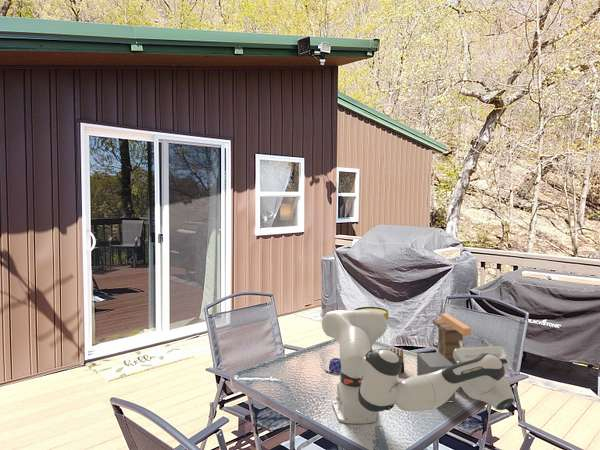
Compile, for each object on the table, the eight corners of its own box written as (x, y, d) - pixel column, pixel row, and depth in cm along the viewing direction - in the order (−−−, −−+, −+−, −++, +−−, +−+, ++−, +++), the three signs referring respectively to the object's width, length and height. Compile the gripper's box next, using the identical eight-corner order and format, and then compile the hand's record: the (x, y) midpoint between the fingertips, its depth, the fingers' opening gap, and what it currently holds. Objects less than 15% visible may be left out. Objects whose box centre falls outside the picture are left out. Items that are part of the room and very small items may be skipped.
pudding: (329, 364, 231) (329, 354, 231) (352, 367, 226) (352, 357, 226) (320, 372, 220) (320, 362, 220) (343, 376, 215) (343, 365, 215)
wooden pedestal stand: (471, 387, 199) (471, 328, 198) (444, 388, 198) (444, 330, 197) (455, 373, 215) (455, 318, 213) (431, 374, 214) (430, 320, 212)
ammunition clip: (402, 371, 220) (402, 346, 219) (404, 372, 218) (404, 347, 217) (381, 372, 218) (381, 348, 217) (382, 374, 216) (382, 349, 215)
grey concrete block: (454, 401, 186) (454, 365, 185) (431, 403, 185) (430, 367, 184) (439, 385, 202) (439, 352, 201) (417, 387, 201) (417, 353, 200)
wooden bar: (470, 335, 188) (470, 328, 188) (463, 335, 188) (463, 328, 188) (447, 319, 212) (447, 313, 212) (440, 320, 212) (440, 313, 212)
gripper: (458, 375, 175) (445, 347, 186) (509, 372, 176) (494, 345, 188) (462, 364, 171) (449, 336, 183) (514, 361, 173) (498, 334, 184)
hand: (472, 341), depth 185 cm, fingers open, 8 cm apart
